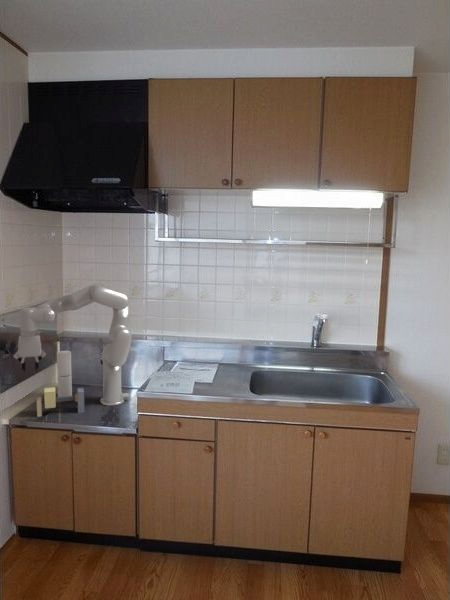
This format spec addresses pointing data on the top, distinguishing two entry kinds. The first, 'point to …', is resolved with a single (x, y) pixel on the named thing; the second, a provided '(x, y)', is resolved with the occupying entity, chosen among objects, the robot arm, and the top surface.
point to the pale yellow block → (50, 397)
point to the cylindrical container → (64, 373)
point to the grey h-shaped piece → (78, 398)
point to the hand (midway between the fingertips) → (30, 369)
